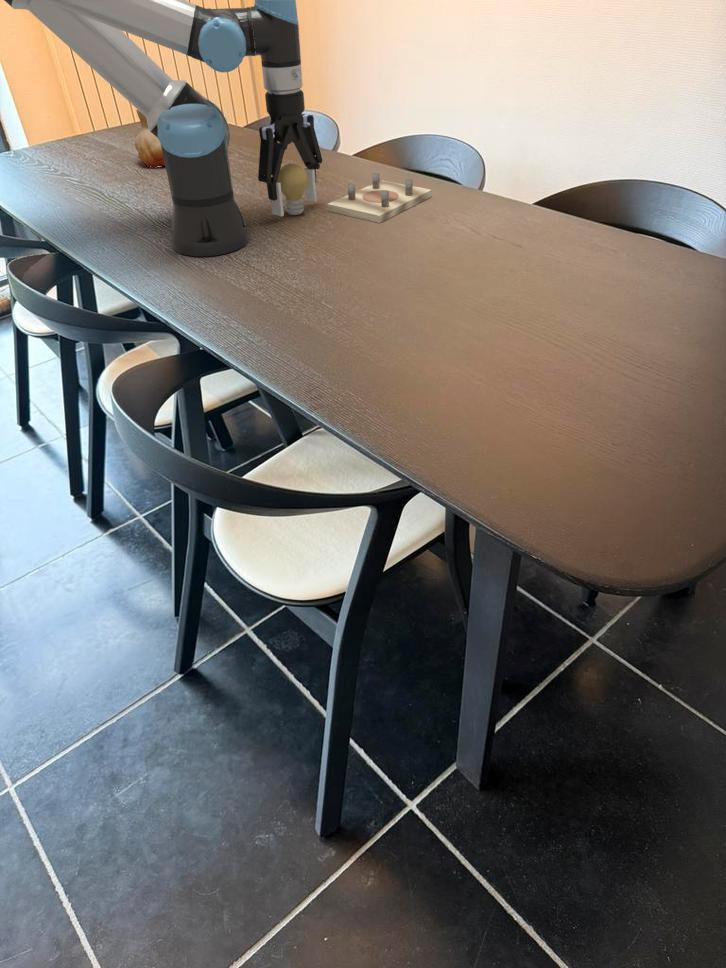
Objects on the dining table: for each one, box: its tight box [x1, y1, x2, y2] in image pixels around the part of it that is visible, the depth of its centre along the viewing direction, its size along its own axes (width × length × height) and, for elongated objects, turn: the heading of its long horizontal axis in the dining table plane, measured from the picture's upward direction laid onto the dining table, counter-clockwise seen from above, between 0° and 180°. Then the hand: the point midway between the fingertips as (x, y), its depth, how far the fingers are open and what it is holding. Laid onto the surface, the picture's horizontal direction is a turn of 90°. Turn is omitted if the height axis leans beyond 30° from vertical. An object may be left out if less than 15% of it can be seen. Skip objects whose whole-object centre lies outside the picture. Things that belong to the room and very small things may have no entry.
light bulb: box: [277, 163, 308, 216], centre depth 142 cm, size 6×6×10 cm
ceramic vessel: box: [134, 89, 206, 168], centre depth 179 cm, size 14×26×15 cm, turn 148°
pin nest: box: [326, 172, 433, 224], centre depth 147 cm, size 20×14×4 cm
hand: (294, 207), depth 145 cm, fingers open, 10 cm apart
